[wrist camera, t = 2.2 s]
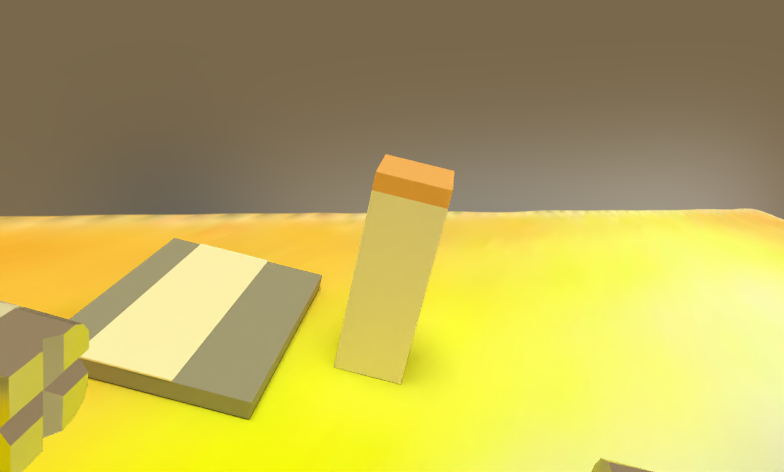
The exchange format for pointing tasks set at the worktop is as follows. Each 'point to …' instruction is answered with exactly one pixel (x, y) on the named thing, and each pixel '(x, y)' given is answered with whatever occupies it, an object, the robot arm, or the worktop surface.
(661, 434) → the worktop surface
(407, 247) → the orange-capped beige pillar
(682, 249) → the worktop surface
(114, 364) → the board
